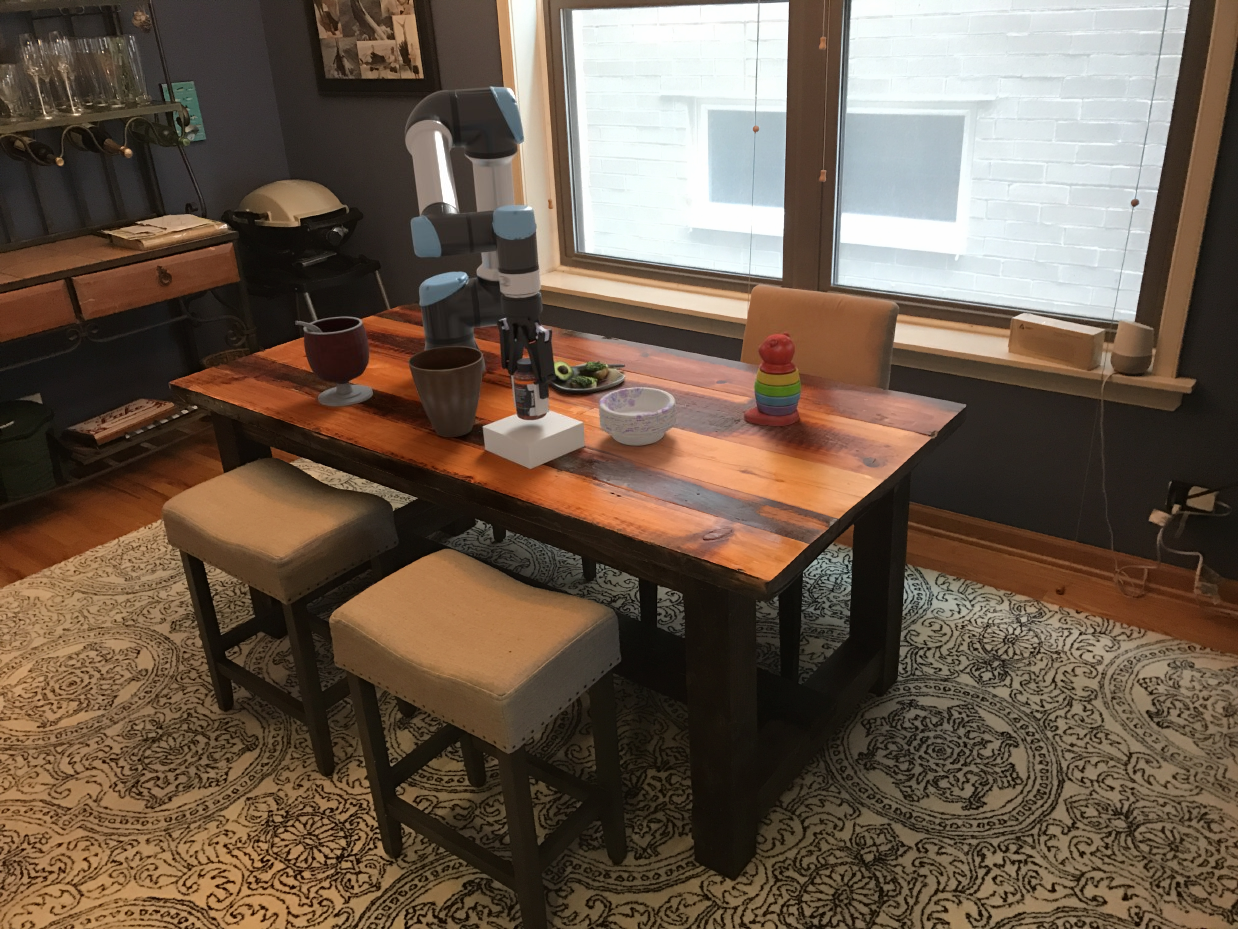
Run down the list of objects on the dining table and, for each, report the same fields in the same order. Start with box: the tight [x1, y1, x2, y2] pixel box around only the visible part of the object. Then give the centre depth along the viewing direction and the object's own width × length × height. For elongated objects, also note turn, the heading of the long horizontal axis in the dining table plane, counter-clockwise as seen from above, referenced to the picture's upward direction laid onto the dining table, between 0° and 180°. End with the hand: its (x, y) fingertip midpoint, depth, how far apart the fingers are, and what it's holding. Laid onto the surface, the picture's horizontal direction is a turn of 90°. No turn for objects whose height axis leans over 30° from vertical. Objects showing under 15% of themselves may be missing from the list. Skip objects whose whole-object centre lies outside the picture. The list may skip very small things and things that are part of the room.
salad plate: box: [548, 360, 626, 396], centre depth 229 cm, size 19×18×5 cm
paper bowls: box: [598, 386, 677, 447], centre depth 196 cm, size 15×15×8 cm
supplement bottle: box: [513, 357, 547, 420], centre depth 190 cm, size 6×6×11 cm
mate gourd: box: [294, 316, 374, 407], centre depth 222 cm, size 16×14×20 cm
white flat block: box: [482, 409, 586, 470], centre depth 194 cm, size 14×14×5 cm
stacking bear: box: [743, 331, 802, 427], centre depth 199 cm, size 11×10×18 cm
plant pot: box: [407, 346, 484, 438], centre depth 202 cm, size 15×15×16 cm
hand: (531, 409), depth 191 cm, fingers closed on supplement bottle, 6 cm apart
